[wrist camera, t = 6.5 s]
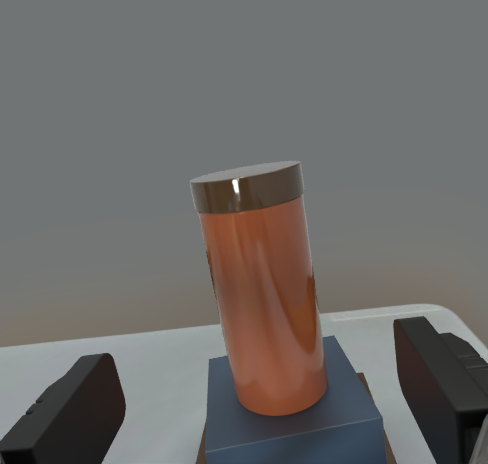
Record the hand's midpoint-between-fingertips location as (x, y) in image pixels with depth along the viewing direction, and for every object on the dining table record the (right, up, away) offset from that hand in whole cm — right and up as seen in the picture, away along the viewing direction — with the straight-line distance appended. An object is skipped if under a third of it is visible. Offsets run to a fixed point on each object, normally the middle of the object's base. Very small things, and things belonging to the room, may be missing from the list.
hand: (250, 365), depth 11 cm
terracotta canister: (+2, -4, +10) cm, 11 cm away
